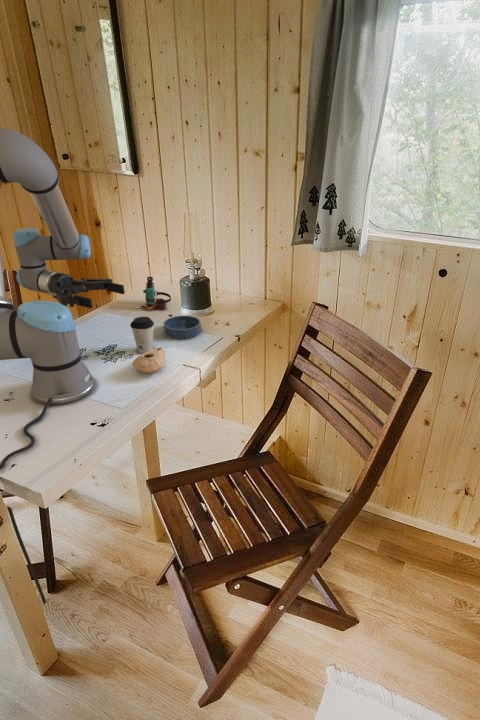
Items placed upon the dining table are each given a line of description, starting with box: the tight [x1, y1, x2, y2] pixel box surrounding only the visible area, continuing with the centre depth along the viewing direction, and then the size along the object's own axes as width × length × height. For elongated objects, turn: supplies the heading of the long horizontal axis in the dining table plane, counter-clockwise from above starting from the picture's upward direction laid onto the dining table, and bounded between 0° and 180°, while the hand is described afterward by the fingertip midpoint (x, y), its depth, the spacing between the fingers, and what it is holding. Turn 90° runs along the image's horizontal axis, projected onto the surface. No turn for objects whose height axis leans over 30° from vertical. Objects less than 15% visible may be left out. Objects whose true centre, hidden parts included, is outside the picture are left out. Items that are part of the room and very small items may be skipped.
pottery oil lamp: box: [131, 347, 166, 375], centre depth 134 cm, size 9×12×7 cm
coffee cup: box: [129, 316, 155, 354], centre depth 143 cm, size 7×7×10 cm
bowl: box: [163, 315, 202, 340], centre depth 156 cm, size 12×12×4 cm
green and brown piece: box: [142, 276, 172, 311], centre depth 174 cm, size 9×11×10 cm
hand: (107, 296), depth 142 cm, fingers open, 13 cm apart
